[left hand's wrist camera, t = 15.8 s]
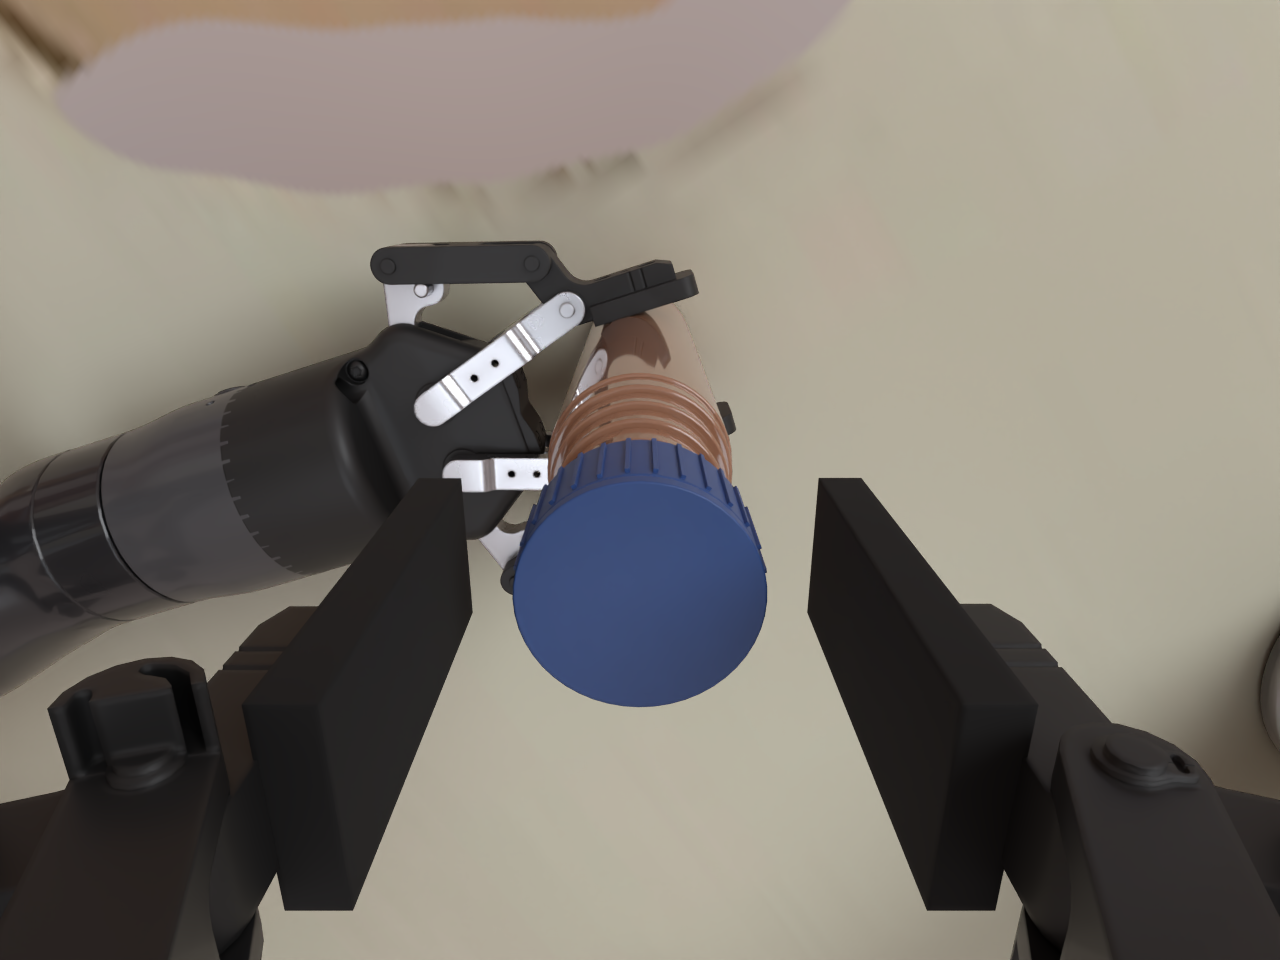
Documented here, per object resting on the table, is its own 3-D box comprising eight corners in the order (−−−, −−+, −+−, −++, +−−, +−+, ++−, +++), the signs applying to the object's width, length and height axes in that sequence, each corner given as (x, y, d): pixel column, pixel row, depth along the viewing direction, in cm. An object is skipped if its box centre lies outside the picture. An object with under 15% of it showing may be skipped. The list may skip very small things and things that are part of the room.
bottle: (572, 363, 34) (462, 635, 13) (618, 272, 33) (579, 411, 12) (660, 408, 35) (691, 737, 14) (708, 321, 34) (826, 536, 12)
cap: (658, 677, 15) (660, 752, 13) (483, 560, 14) (457, 621, 12) (798, 524, 14) (825, 581, 12) (618, 388, 13) (614, 424, 11)
